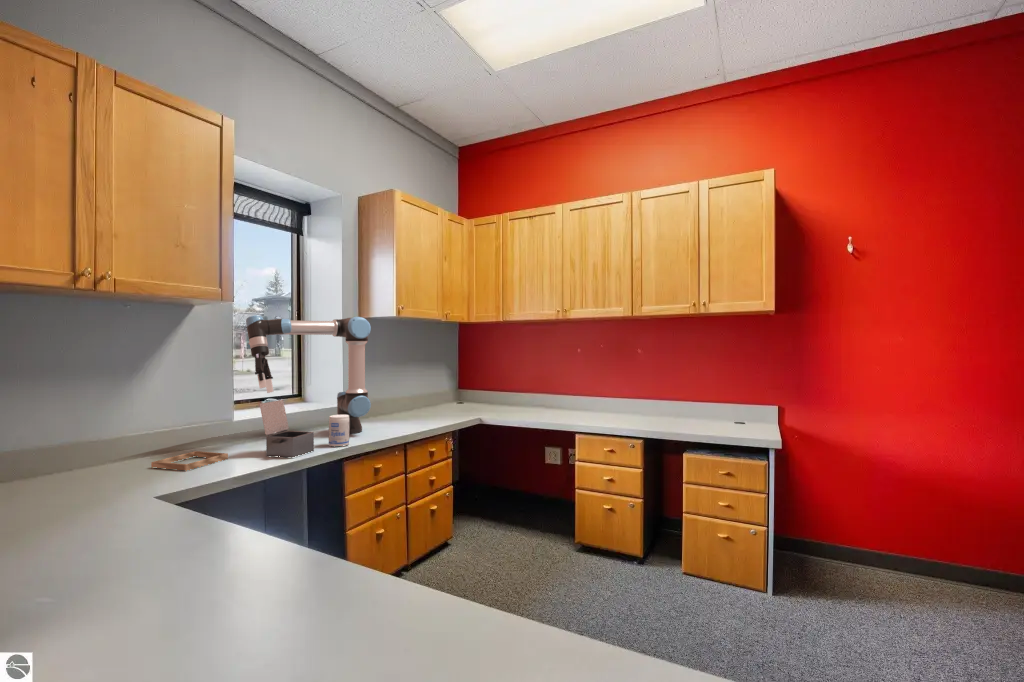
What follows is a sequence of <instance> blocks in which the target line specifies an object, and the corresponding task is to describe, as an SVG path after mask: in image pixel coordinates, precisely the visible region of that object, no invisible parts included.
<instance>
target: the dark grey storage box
mask: <svg viewBox="0 0 1024 682" xmlns="http://www.w3.org/2000/svg"><path fill="white" fill-rule="evenodd" d="M314 435H315V432H314V431H299V430H287V431H284V432H281V433H277V434H273V435H269V436H267V435H266V439H265V440H266V441H265V442H266V443H265V444H266V448H265V449H266V450H265V452H266V454H265V456H278V457H277V458H279V456H280V457H295V456H298V455H302V454H305V453H307V454H309V453H308V452H310V453H312V452H311V451H313V452H314V451H315V450H314V449H315V448H314V445H315V444H314V443H315V441H314V437H315V436H314ZM305 455H306V454H305ZM302 456H303V455H302Z"/></svg>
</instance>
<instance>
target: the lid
mask: <svg viewBox="0 0 1024 682" xmlns="http://www.w3.org/2000/svg"><path fill="white" fill-rule="evenodd" d="M259 409H260V414H261V419H262V423H263V429H264V433H265V435H266V436H270V435H274V434H278V433H282V432H286V431H289V429H290V427H289V424H288V423H289V422H288V417H287V413H286V412H287V411H286V407H285V402H284V399H279V400H274V401H267V402H261V403H259Z"/></svg>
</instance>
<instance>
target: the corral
mask: <svg viewBox="0 0 1024 682" xmlns="http://www.w3.org/2000/svg"><path fill="white" fill-rule="evenodd" d="M193 456H198V457H206V458H203V459H201V460H198V461H194V462H191V463H179V462H176V463H171V462H174V461H178V460H182V459H186V458H189V457H193ZM225 459H227V460H229V453H228V452H214V451H213V452H211V451H200V450H199V451H190V452H186V453H182V454H179V455H176V456H175V455H174V456H170V457H167V458H162V459H158V460H155V461H151V462H150V463H151V467H157V468H166V469H177V470H186V471H185V472H188V471H187V470H189V471H191V470H190V469H193V470H195V469H194V468H196V469H198V468H197V467H199V468H202V467H201V466H203V467H205V466H204V465H206V466H209V465H208V464H210V465H212V463H213V464H216V463H215V462H217V463H219V462H218V461H220V462H223V461H226V460H225ZM222 460H223V461H222ZM177 470H176V471H177Z"/></svg>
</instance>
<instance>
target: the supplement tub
mask: <svg viewBox="0 0 1024 682" xmlns="http://www.w3.org/2000/svg"><path fill="white" fill-rule="evenodd" d="M328 417H329V418H328V446H329V447H331V446H334V447H333V448H336V447H335V446H342V447H344V446H343V445H347V446H349V445H350V434H349V415H337V414H333V415H329V416H328Z"/></svg>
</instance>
